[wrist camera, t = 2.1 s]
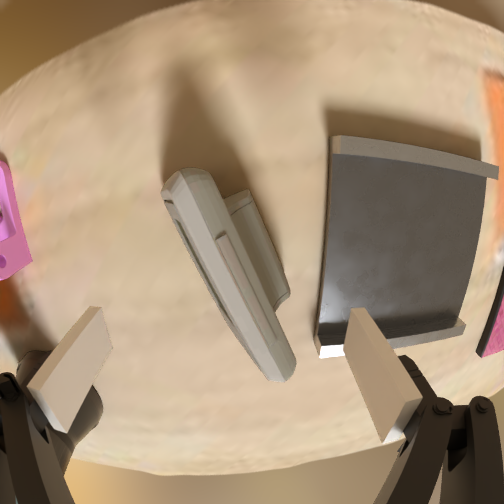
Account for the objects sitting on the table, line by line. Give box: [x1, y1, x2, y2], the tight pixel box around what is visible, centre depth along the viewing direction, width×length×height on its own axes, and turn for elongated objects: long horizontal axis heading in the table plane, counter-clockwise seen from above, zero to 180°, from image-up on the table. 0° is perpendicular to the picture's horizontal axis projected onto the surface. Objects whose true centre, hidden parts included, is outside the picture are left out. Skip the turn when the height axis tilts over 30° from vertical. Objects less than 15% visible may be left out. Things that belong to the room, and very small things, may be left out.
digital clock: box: [161, 167, 296, 382], centre depth 21 cm, size 16×9×11 cm, turn 11°
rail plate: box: [314, 135, 499, 358], centre depth 26 cm, size 20×21×3 cm
